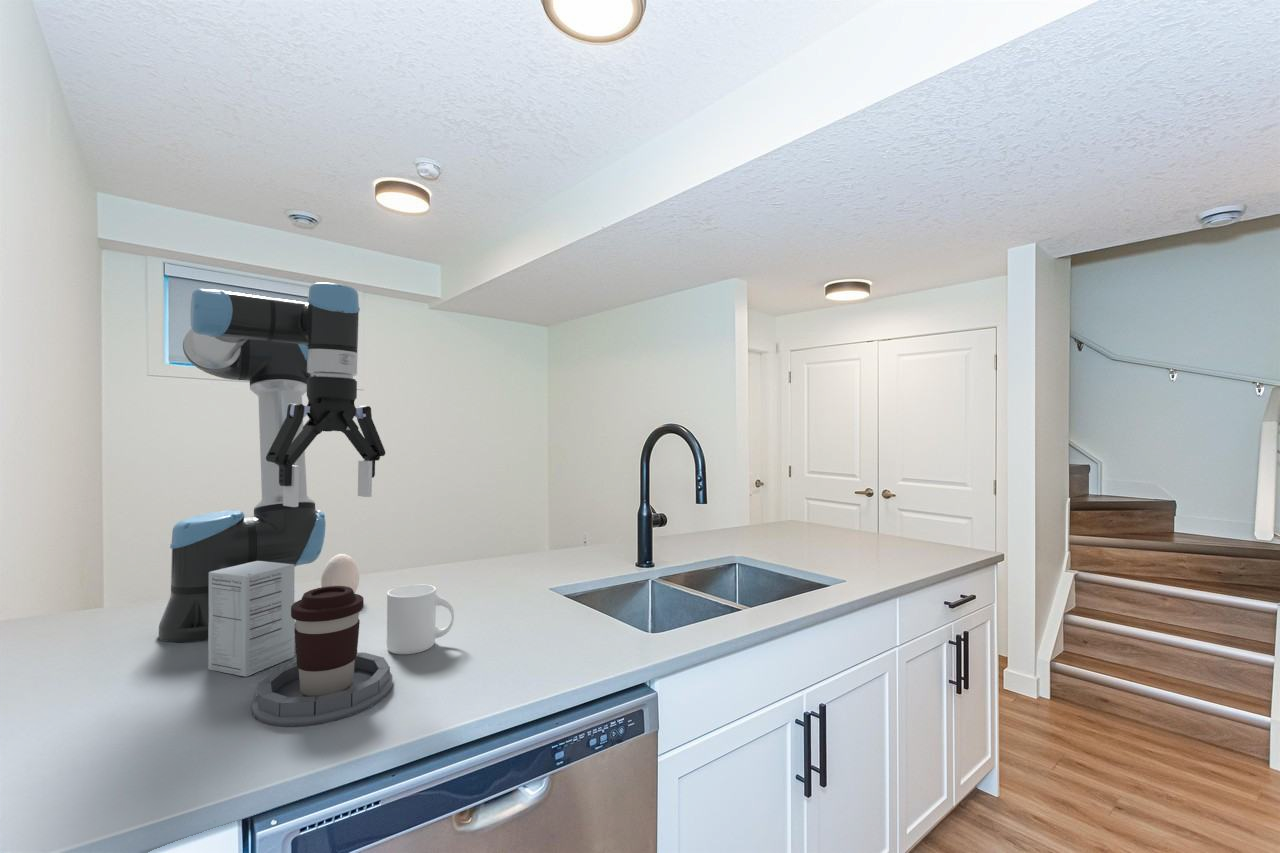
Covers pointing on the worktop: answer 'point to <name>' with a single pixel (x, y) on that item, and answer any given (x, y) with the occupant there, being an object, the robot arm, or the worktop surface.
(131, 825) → the worktop surface
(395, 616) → the mug
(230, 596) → the supplement box
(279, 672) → the bowl
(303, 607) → the coffee cup
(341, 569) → the egg
